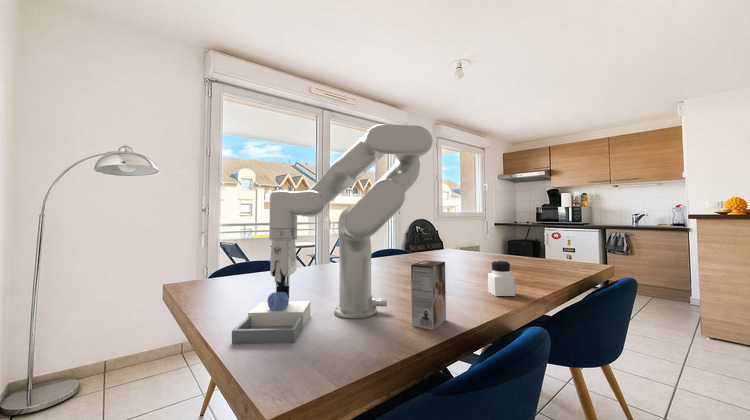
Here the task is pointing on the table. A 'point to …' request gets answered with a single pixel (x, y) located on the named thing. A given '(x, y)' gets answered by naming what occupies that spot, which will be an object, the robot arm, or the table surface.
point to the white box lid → (280, 314)
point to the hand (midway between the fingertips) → (282, 299)
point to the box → (266, 333)
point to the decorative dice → (278, 301)
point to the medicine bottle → (501, 280)
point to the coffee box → (428, 294)
